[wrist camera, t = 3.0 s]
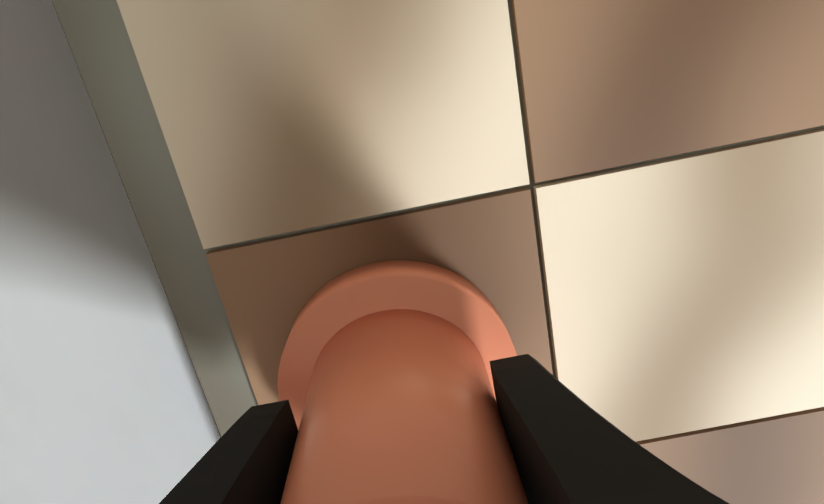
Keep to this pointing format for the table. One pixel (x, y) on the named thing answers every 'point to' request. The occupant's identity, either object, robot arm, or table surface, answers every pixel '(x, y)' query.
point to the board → (498, 193)
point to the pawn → (397, 391)
